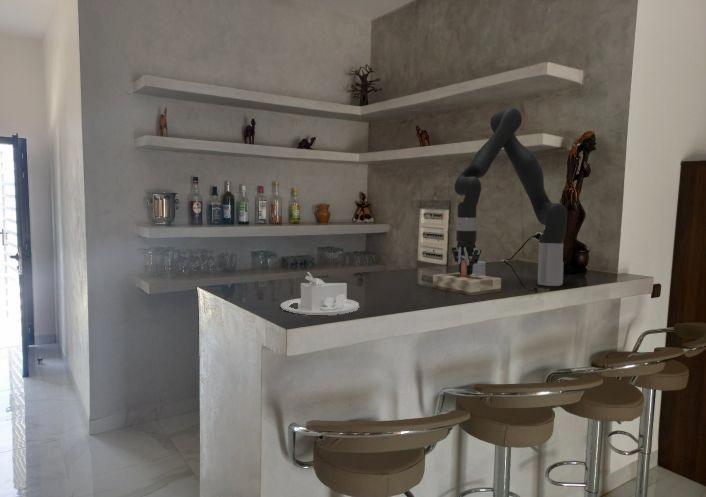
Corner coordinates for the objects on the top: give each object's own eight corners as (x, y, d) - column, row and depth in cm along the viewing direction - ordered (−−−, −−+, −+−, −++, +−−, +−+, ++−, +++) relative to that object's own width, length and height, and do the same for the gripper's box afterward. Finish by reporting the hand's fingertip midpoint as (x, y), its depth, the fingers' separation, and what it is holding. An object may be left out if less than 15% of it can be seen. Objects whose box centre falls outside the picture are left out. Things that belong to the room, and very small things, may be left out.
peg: (465, 284, 201) (465, 259, 200) (475, 286, 197) (475, 260, 196) (455, 285, 198) (456, 259, 197) (465, 287, 194) (465, 261, 193)
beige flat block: (432, 287, 201) (433, 275, 200) (461, 284, 210) (462, 272, 209) (471, 295, 184) (471, 281, 184) (500, 291, 193) (501, 278, 193)
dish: (294, 319, 146) (294, 280, 145) (271, 304, 169) (271, 270, 168) (371, 312, 156) (372, 276, 155) (340, 298, 179) (341, 266, 178)
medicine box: (485, 281, 217) (486, 261, 216) (483, 283, 213) (484, 262, 212) (466, 280, 221) (467, 260, 220) (464, 281, 217) (465, 261, 216)
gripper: (487, 230, 192) (486, 275, 193) (460, 228, 203) (459, 271, 205) (473, 230, 188) (472, 277, 189) (446, 228, 199) (445, 272, 201)
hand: (465, 274), depth 197 cm, fingers closed on peg, 3 cm apart
